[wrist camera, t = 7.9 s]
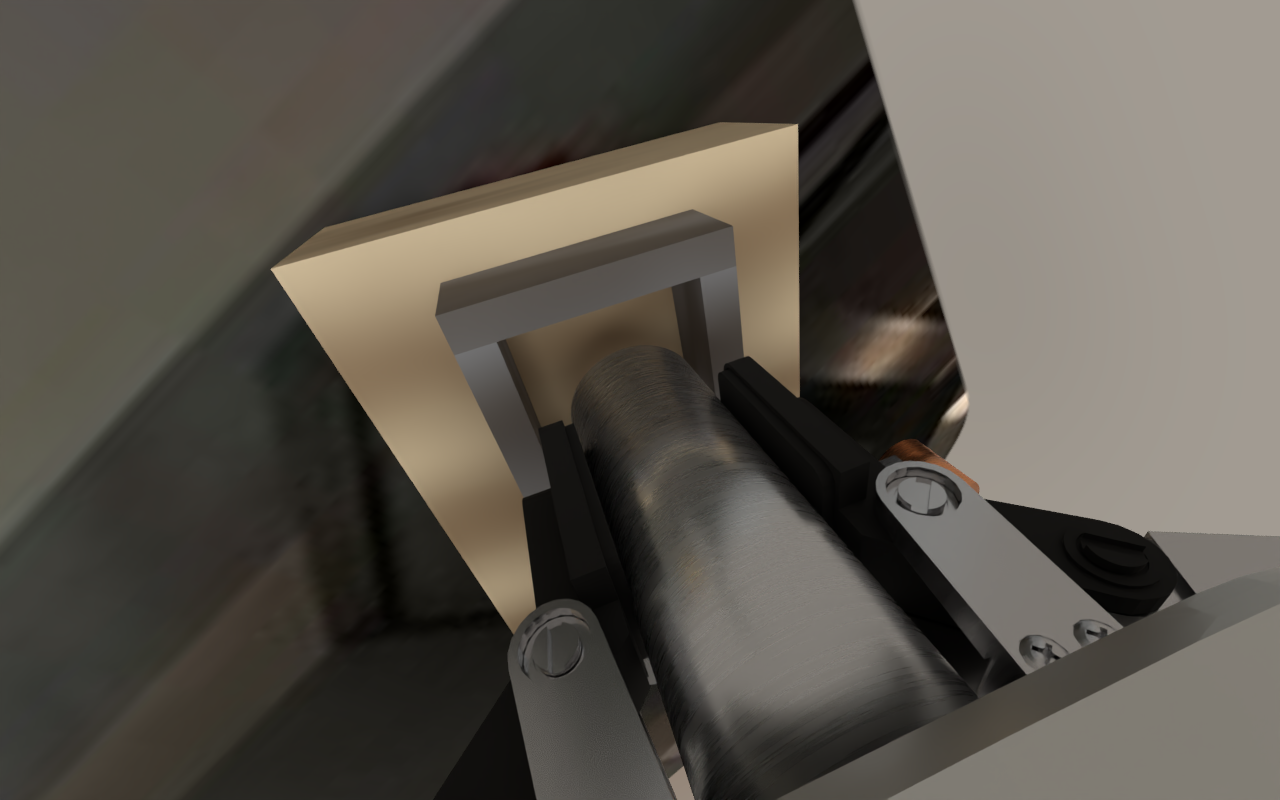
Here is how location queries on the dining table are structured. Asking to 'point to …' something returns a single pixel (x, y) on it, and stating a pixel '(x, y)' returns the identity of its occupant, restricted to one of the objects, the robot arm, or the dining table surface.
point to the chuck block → (551, 310)
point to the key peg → (746, 591)
